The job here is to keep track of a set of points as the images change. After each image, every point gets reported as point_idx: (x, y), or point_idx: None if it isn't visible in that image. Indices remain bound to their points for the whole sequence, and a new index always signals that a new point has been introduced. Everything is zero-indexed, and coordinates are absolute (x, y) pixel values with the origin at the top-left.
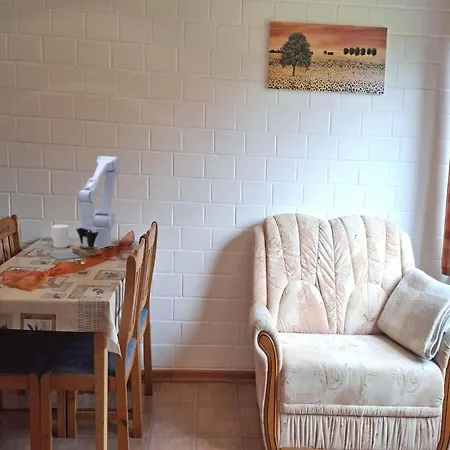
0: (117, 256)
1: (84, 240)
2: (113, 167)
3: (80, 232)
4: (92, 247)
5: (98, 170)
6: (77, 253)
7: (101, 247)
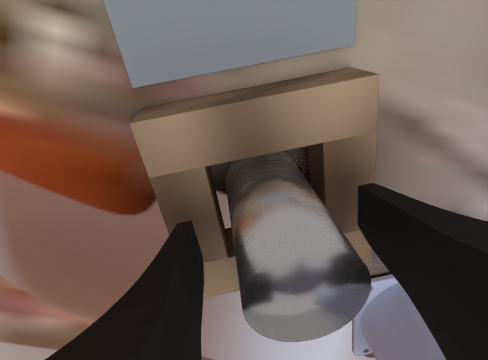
0: None
1: (262, 229)
2: None
3: (471, 270)
4: None
5: None
6: (242, 91)
7: None
